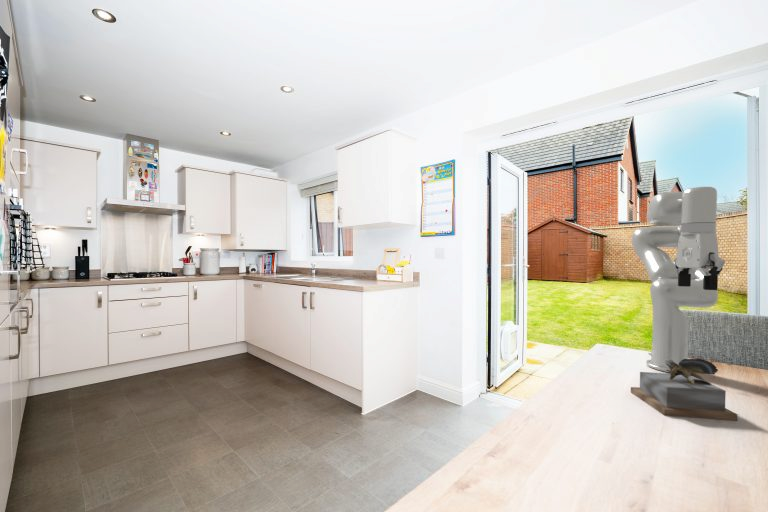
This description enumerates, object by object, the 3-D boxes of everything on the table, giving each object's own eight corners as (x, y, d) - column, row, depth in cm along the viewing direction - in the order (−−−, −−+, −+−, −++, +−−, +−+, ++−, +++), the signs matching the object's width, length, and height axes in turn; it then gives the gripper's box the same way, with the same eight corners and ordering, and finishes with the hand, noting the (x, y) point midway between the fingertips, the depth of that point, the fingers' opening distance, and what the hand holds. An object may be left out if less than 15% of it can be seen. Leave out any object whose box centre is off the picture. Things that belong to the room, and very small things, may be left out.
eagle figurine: (684, 383, 84) (725, 379, 83) (669, 354, 88) (708, 350, 87) (670, 389, 90) (708, 386, 89) (656, 362, 94) (693, 359, 93)
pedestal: (630, 392, 97) (631, 369, 97) (692, 396, 95) (692, 373, 95) (664, 415, 83) (664, 389, 83) (737, 420, 81) (738, 393, 81)
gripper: (663, 231, 108) (662, 284, 108) (707, 227, 91) (706, 291, 91) (689, 231, 107) (688, 285, 107) (739, 227, 90) (737, 291, 90)
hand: (696, 288), depth 99 cm, fingers open, 9 cm apart
